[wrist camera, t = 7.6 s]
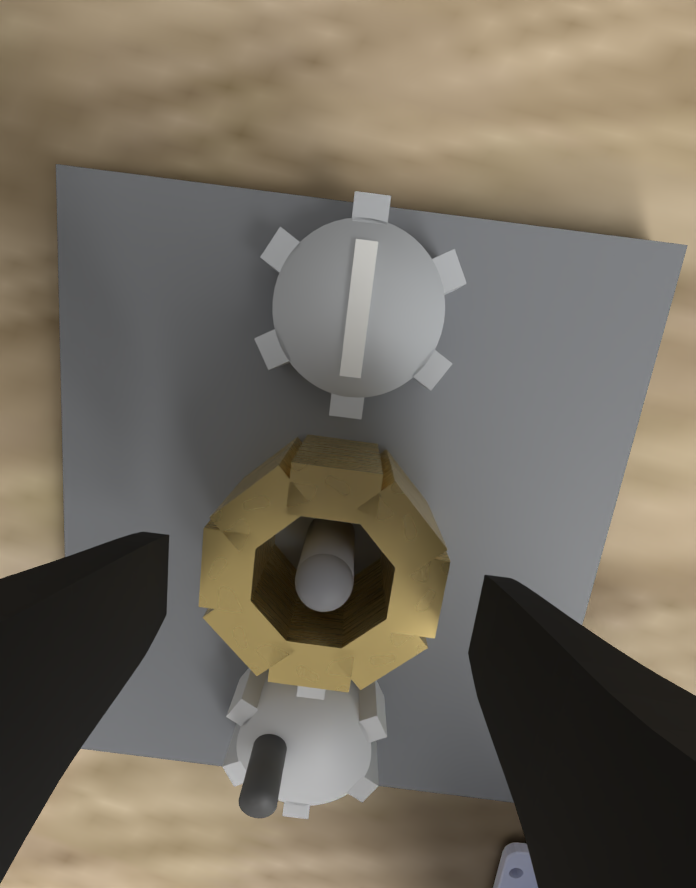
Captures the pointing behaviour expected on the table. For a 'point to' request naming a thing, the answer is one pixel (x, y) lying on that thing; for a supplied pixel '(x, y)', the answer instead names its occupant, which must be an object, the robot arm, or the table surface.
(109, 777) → the table surface
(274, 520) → the brass gear
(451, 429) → the gear board
